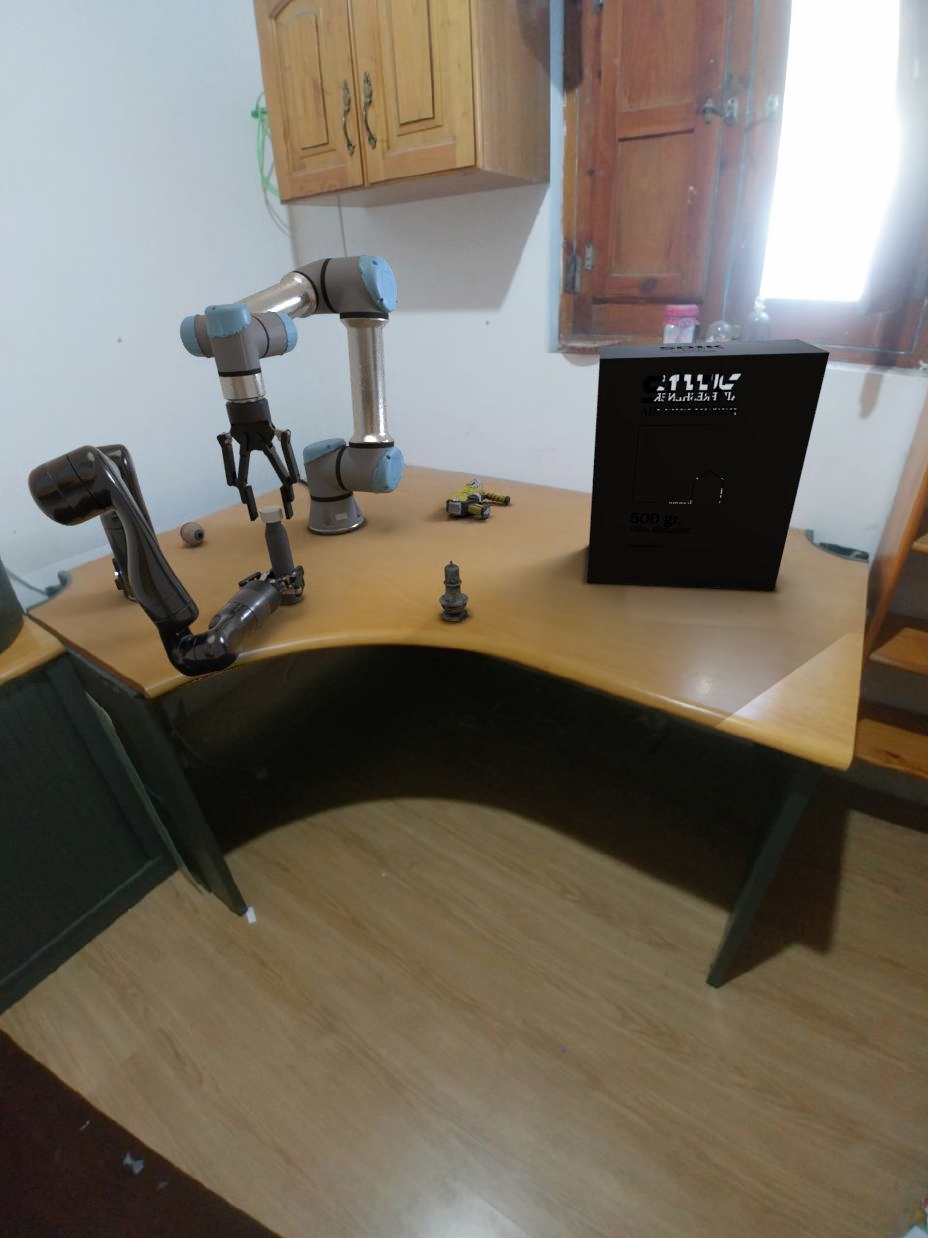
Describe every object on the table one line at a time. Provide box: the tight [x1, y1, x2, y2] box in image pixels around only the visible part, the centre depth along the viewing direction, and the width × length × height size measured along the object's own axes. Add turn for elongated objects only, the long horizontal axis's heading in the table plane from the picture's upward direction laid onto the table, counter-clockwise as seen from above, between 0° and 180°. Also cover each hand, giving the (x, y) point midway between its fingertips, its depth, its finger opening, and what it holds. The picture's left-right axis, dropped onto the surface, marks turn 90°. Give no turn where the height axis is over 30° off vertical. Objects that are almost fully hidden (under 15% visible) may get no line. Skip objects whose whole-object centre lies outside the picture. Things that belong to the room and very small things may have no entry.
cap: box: [259, 505, 284, 524], centre depth 121 cm, size 4×4×2 cm
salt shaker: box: [438, 560, 469, 622], centre depth 119 cm, size 6×6×12 cm
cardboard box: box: [586, 338, 831, 592], centre depth 124 cm, size 38×20×45 cm, turn 78°
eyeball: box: [179, 521, 206, 546], centre depth 161 cm, size 6×6×6 cm
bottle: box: [264, 520, 302, 606], centre depth 126 cm, size 4×4×20 cm
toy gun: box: [445, 478, 511, 520], centre depth 176 cm, size 5×24×15 cm
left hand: (290, 568), depth 130 cm, fingers closed on bottle, 4 cm apart
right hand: (272, 517), depth 122 cm, fingers open, 7 cm apart
